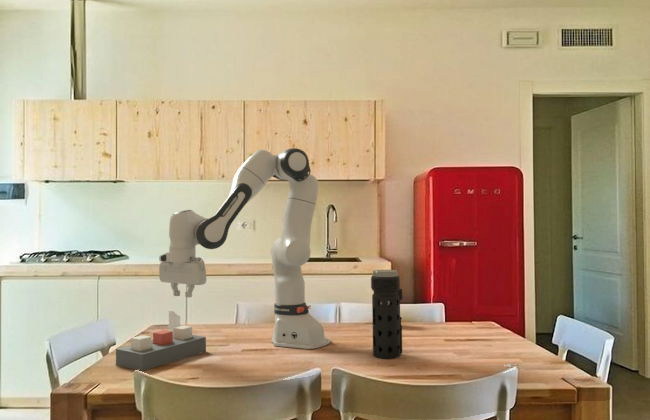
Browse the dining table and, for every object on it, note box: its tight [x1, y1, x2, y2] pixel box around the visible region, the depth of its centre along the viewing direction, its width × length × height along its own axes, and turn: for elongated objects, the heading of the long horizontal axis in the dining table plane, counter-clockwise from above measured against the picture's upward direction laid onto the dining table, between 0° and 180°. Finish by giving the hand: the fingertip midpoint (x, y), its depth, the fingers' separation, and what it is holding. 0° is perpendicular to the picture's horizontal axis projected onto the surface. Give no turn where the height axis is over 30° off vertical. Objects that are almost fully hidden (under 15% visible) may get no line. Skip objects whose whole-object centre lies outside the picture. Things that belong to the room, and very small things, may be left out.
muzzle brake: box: [370, 269, 403, 360], centre depth 165 cm, size 10×28×10 cm
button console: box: [115, 334, 207, 372], centre depth 164 cm, size 13×26×5 cm, turn 148°
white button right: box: [173, 325, 193, 340], centre depth 172 cm, size 4×4×5 cm
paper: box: [453, 354, 521, 369], centre depth 154 cm, size 25×17×1 cm
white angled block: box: [168, 310, 181, 332], centre depth 196 cm, size 4×10×9 cm
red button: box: [152, 329, 173, 345], centre depth 164 cm, size 4×4×5 cm
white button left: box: [130, 334, 152, 351], centre depth 157 cm, size 4×4×5 cm
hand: (182, 296), depth 172 cm, fingers open, 5 cm apart
